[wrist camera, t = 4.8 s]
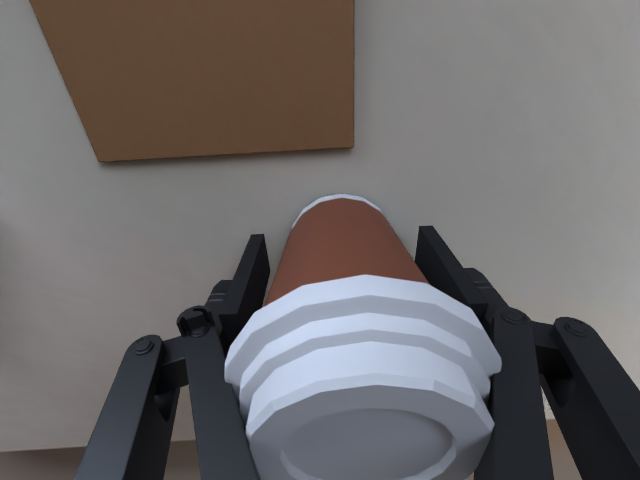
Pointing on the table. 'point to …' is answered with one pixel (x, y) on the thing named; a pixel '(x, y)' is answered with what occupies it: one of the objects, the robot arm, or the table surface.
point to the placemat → (205, 74)
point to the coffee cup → (360, 360)
